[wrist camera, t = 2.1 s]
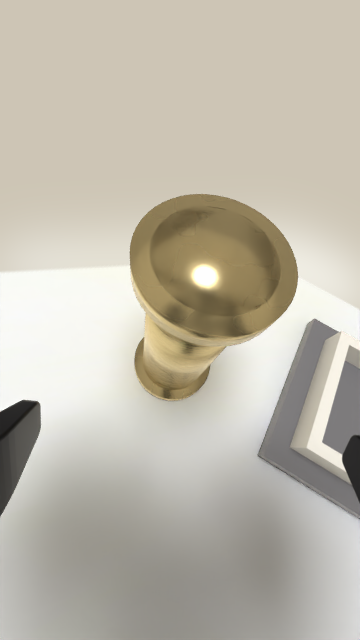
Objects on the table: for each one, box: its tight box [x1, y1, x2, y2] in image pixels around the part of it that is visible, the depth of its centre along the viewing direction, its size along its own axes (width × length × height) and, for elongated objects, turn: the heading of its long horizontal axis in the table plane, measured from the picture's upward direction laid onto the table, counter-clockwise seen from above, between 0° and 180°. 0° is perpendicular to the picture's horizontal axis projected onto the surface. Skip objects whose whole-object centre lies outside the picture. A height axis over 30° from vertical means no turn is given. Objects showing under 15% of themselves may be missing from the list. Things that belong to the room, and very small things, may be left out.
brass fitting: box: [130, 194, 298, 401], centre depth 15 cm, size 6×6×13 cm
